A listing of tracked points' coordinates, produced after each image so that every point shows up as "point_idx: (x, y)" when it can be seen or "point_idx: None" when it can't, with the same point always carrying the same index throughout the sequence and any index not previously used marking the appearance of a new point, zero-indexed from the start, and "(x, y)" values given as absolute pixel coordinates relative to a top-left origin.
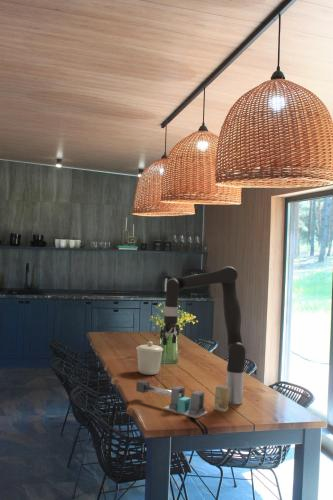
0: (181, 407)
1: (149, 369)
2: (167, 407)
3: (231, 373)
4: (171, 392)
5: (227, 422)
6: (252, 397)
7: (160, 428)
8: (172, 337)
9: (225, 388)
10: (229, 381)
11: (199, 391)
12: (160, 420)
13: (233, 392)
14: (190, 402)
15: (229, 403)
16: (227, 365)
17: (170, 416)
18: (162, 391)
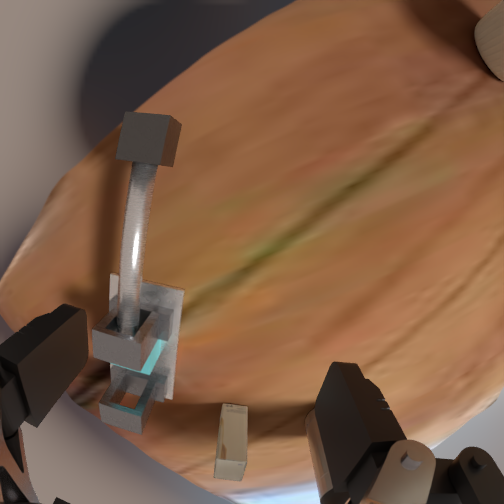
0: None
1: (490, 53)
2: None
3: (321, 493)
4: (118, 312)
5: (146, 438)
6: (400, 426)
7: (10, 322)
8: (359, 431)
9: (215, 476)
10: (319, 466)
11: (135, 422)
12: (38, 305)
13: (310, 450)
14: (153, 366)
15: (306, 418)
16: (341, 502)
17: None
18: (119, 266)
